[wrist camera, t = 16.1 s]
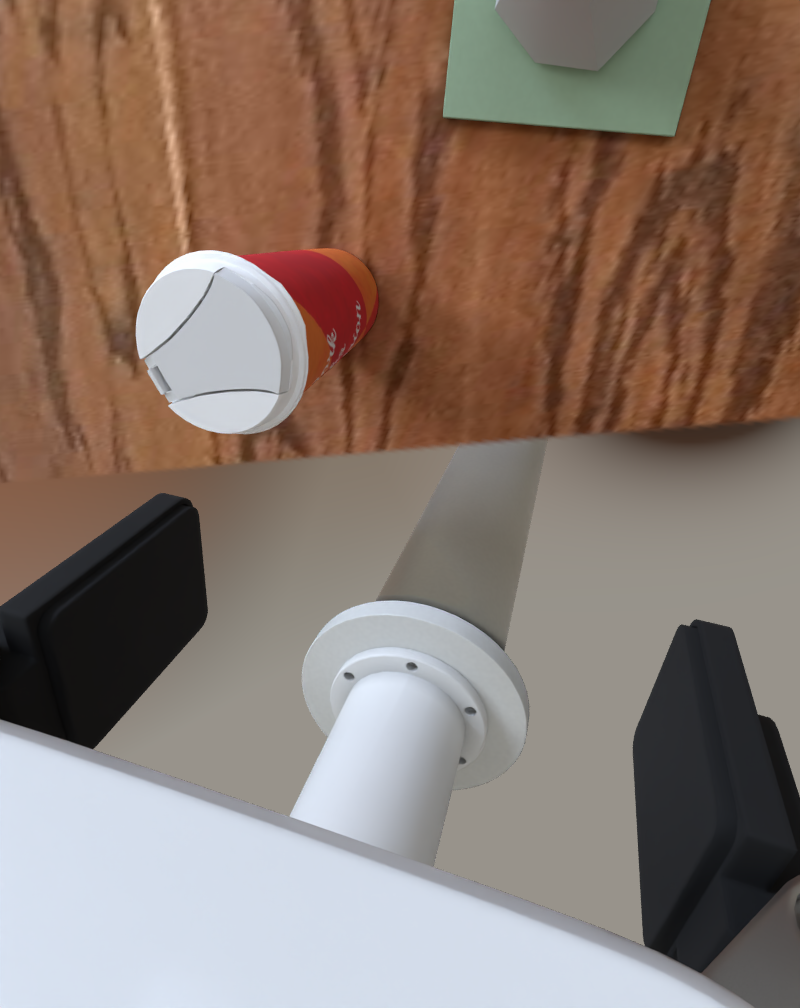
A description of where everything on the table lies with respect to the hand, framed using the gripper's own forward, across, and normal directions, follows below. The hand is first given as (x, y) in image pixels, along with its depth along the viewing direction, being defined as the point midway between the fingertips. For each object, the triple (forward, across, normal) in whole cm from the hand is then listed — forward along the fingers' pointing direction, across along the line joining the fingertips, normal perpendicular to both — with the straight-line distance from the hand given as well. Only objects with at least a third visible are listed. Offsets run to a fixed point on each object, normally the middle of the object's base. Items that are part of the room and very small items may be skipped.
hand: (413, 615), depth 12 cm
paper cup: (+26, +12, 0) cm, 29 cm away
